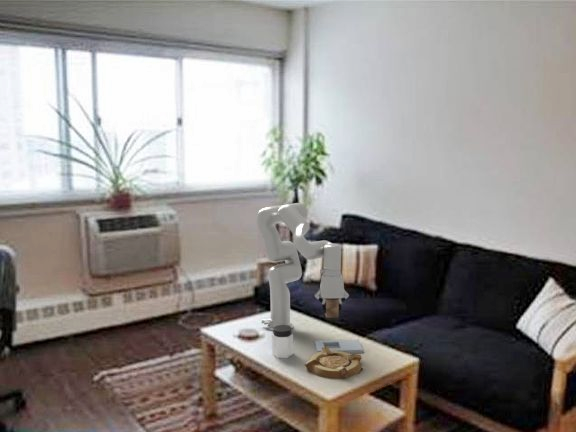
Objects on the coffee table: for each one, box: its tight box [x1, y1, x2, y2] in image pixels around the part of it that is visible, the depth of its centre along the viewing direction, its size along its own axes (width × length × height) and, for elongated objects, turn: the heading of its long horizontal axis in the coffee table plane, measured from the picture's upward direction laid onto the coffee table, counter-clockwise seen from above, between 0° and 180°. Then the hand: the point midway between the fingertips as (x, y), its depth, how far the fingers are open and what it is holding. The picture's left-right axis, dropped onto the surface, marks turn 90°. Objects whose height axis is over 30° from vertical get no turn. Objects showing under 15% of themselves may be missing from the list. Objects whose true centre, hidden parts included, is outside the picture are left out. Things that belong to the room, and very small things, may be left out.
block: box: [324, 299, 340, 319], centre depth 248 cm, size 6×6×8 cm
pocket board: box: [314, 338, 364, 354], centre depth 251 cm, size 20×12×2 cm, turn 92°
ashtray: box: [304, 346, 363, 380], centre depth 232 cm, size 24×24×5 cm
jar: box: [271, 325, 294, 359], centre depth 244 cm, size 9×8×12 cm
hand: (331, 311), depth 248 cm, fingers closed on block, 5 cm apart
